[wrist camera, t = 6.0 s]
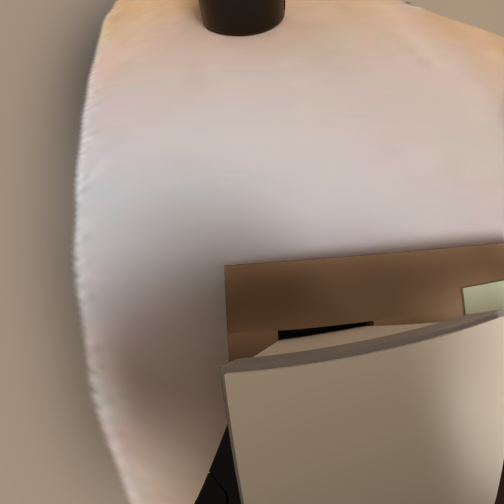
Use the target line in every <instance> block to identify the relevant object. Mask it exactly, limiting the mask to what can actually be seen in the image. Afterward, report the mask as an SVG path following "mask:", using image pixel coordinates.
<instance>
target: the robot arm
mask: <svg viewBox="0 0 504 504" xmlns="http://www.w3.org/2000/svg"><path fill="white" fill-rule="evenodd" d="M209 472H210V473H208V475H207V477H206V480H205V482H204V484H203V487H202V489H201V491H200V493H199V495H198V498H197V499H196V501H195V503H194V504H241V500H240V495H239V489H238V484H237V478H236V472H235V466H234V461H233V454H232V448H231V442H230V435H229V429H228V424H227V427H226V429H225V432H224V434H223V437H222V440H221V442H220V445H219V447H218V450H217V452H216V455H215V457H214V460H213V462H212V465H211V468H210V470H209ZM495 504H504V461H503V467H502V472H501V478H500V483H499V487H498V492H497V496H496V500H495Z"/></svg>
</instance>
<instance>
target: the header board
mask: <svg viewBox="0 0 504 504" xmlns="http://www.w3.org/2000/svg"><path fill="white" fill-rule="evenodd" d="M225 289H226V311H227V331H228V349H229V362H231V361H233V360H235V359H241V358H251V357H254V356H255V355H257V354H259V353H260V352H262V351H263V350H265V349H266V348H268V347H270V346H271V345H273V344H274V343H276V342H277V341H278V331H283V330H295V329H307V328H317V327H327V326H336V325H345V324H353V323H358V326H386V325H406V324H423V323H437V322H444V321H447V320H451V319H454V318H458V317H461V316H464V315H468V314H473V313H480V312H486V311H493V310H499V309H502V311H503V316H504V243H496V244H486V245H475V246H464V247H453V248H442V249H431V250H420V251H408V252H396V253H385V254H373V255H360V256H348V257H335V258H322V259H309V260H296V261H283V262H269V263H255V264H241V265H226V266H225Z"/></svg>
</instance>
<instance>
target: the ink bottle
mask: <svg viewBox="0 0 504 504" xmlns="http://www.w3.org/2000/svg"><path fill="white" fill-rule="evenodd" d="M198 1H199V5H200V10H201V14H202V19H203V22H204V24H205V26H206V27H208V28H209V29H211V30H213V31H216V32H219V33H224V34H231V35H249V34H256V33H260V32H263V31H266V30H269V29H271V28H273V27H275V26H276V25H278V24H279V23H280V22H281V21H282V20H283V18H284V14H285V0H198Z"/></svg>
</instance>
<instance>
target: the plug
mask: <svg viewBox="0 0 504 504" xmlns="http://www.w3.org/2000/svg"><path fill="white" fill-rule="evenodd" d="M220 371H221V379H222V387H223V394H224V401H225V408H226V415H227V422H228V429H229V435H230V442H231V448H232V454H233V461H234V466H235V472H236V478H237V484H238V489H239V495H240V500H241V504H495V500H496V496H497V492H498V487H499V483H500V478H501V472H502V467H503V461H504V316H503V311H502V309H499V310H493V311H486V312H480V313H473V314H468V315H464V316H461V317H458V318H454V319H451V320H447V321H444V322H437V323H423V324H406V325H386V326H357V327H351V328H346V329H340V330H335V331H329V332H323V333H316V334H310V335H304V336H297V337H290V338H283V339H280V340H279V341H277V342H276V343H274V344H273V345H271V346H270V347H268V348H266V349H265V350H263V351H262V352H260V353H259V354H257V355H255V356H254V357H251V358H241V359H235V360H233V361H231V362H229V363H227V364H225V365H223V366H220Z"/></svg>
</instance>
